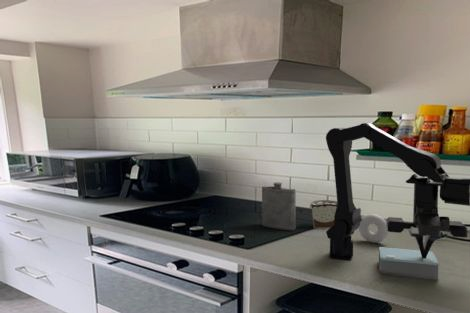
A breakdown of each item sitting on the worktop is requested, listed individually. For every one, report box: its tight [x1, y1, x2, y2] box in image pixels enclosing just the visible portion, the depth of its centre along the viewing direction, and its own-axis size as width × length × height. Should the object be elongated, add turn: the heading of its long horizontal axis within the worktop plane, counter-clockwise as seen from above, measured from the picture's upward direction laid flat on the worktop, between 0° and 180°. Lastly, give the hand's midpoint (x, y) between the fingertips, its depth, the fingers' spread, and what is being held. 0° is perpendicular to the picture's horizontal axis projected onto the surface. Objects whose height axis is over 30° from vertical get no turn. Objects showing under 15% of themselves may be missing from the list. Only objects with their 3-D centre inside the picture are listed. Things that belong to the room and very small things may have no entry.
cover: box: [378, 246, 440, 266], centre depth 102 cm, size 14×9×1 cm
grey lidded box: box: [378, 251, 439, 281], centre depth 103 cm, size 14×9×4 cm, turn 72°
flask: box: [261, 181, 297, 231], centre depth 145 cm, size 4×14×18 cm, turn 57°
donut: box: [358, 213, 390, 244], centre depth 126 cm, size 10×4×10 cm, turn 54°
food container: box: [309, 199, 337, 229], centre depth 147 cm, size 12×6×10 cm, turn 92°
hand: (423, 257), depth 99 cm, fingers closed, pressing on cover
